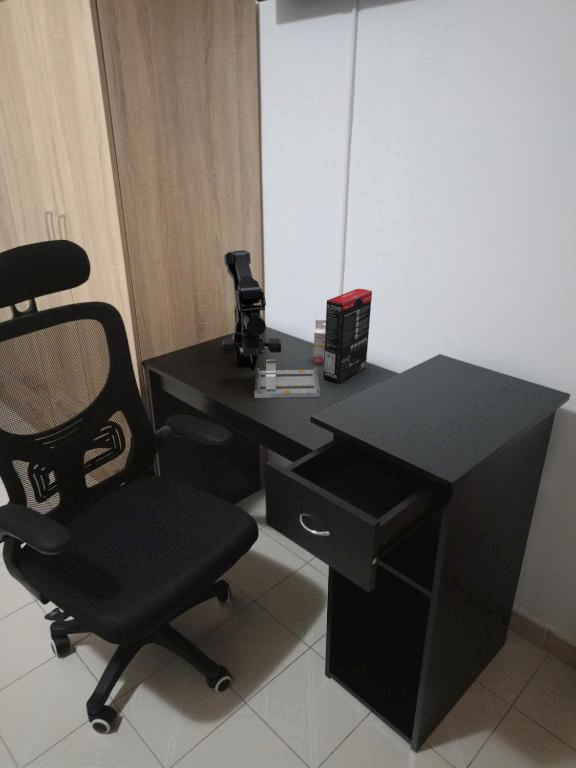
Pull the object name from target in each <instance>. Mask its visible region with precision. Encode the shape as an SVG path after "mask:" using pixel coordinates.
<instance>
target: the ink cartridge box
mask: <svg viewBox="0 0 576 768" xmlns="http://www.w3.org/2000/svg"><path fill="white" fill-rule="evenodd" d="M325 329H326V319H316V320H315V328H314V335H313V365H315V364H317V365H324V351H325Z"/></svg>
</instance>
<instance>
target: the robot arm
mask: <svg viewBox="0 0 576 768" xmlns="http://www.w3.org/2000/svg"><path fill="white" fill-rule="evenodd" d="M223 260H224V262H223V263H224V266H225V267H226V272H227V274H228V275H229V276H230V277H231V278H232V283H233V292H234V300H235V301H234V302H235V306H236V310H237V319H238V321H237V324H236V326H235V325H234V330H233V331H234V332H232V339H231V338H225V339H223V340H222V344H221V353H222V354H233V353H234V352H236V354H235V355H236V367H249V368H250V370H251V371H252V372H253V371H255V370H256V364H257V362H258V360H259V357H260V356H264V351H265V349H268V351H269V352H270V353H272V354H274V353H275V354H276V353H279V354H280V353H282V339H280V337H279V338H277V337H276V338H268V341H265V338H261V335H262V334H263V333H265V330H266V329H267V327H266V326H267V325H266V321H265V320H264V318H263V317H262V314H261V311H265V310H266V308H265V307H266V305H267V302H266V298H265V292H264V291H263V288H262V287H261V286H260V284H259V281H257V280H256V279H254V277H253V274H252V270H251V266H250V265H251V264H252V261H251V252H249V251H248V250H233V251H227V253H225V254H224V255H223Z"/></svg>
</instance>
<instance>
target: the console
mask: <svg viewBox="0 0 576 768" xmlns="http://www.w3.org/2000/svg"><path fill="white" fill-rule="evenodd" d="M312 368H313V369H291V370H290V369H285V370H284V369H283V370H281V369H276V389H267V390H266V370H260V367H255V378H254V379H255V380H254V390H253V391H254V392H253V393H254V399H276V398H277V399H279V398H282V399H283V398H284V399H285V398H288V399H289V397H293V398H321V397H320V395H321V388H320V382H319V376H318V375H319V374H318V368H317V366H313V367H312Z"/></svg>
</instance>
